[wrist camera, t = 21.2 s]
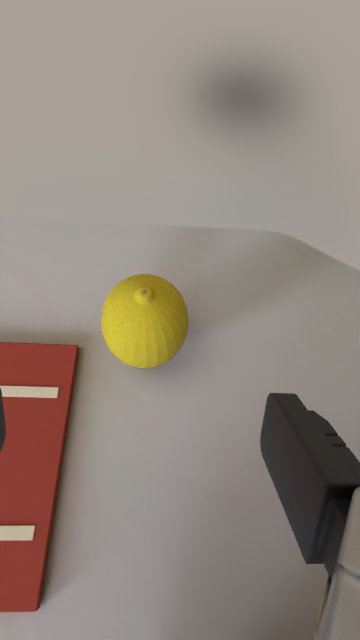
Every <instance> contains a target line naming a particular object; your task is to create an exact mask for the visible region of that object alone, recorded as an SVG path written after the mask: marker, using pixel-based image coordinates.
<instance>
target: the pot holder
mask: <svg viewBox="0 0 360 640" xmlns="http://www.w3.org/2000/svg"><path fill="white" fill-rule="evenodd" d="M78 351H79V347H78V345H58V344H33V343H7V342H0V388H1V391H2V399H3V407H4V416H5V424H6V437H5V442H4V445H3V448H2V450H1V452H0V612H34V611H37V610H38V609H39V607H40V601H41V594H42V588H43V581H44V575H45V568H46V561H47V555H48V548H49V542H50V535H51V529H52V522H53V516H54V509H55V502H56V496H57V489H58V483H59V476H60V470H61V463H62V456H63V450H64V443H65V437H66V430H67V424H68V417H69V410H70V404H71V397H72V391H73V384H74V378H75V371H76V364H77V358H78Z"/></svg>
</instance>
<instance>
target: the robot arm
mask: <svg viewBox="0 0 360 640" xmlns="http://www.w3.org/2000/svg"><path fill="white" fill-rule="evenodd" d="M5 437H6V424H5V416H4V407H3V399H2V391H1V388H0V452H1V450H2V448H3V445H4V442H5ZM260 444H261V452H262V456H263V459H264V461H265V463H266V466H267V468H268V471H269V473H270V476H271V478H272V481H273V483H274V486H275V488H276V491H277V493H278V496H279V498H280V500H281V503H282V505H283V508H284V510H285V513H286V515H287V518H288V520H289V523H290V525H291V528H292V530H293V533H294V535H295V538H296V540H297V542H298V545H299V547H300V550H301V552H302V555H303V557H304V560H305V562H306V564H324V565H325V567H326V569H327V572H328V574H329V575H328V578H327V581H326V585H325V589H324V593H323V597H322V602H321V606H320V610H319V614H318V618H317V622H316V626H315V630H314V635H313V639H312V640H360V462H359V461H358V460H357V458H356V457H355V456H354V454H353V453H352V452H351V451H350V449H349V448H348V447H346V444H345V443H344V441H343V440H342V439H341V438H340V436H338V434H337V432H336V431H335V430H334V429H333V427H332V426H331V425H330V423H329V422H328V421H327V420H325V419H324V418H323V417H321V416H320V415H318V414H317V413H316V412H314V411H308V410H307V409H306V407H305V406H304V405H303V403H302V402H301V400H300V399H299V398H298V396H297V395H296V394H288V393H270V394H269V395H268V398H267V402H266V408H265V413H264V419H263V425H262V431H261V438H260Z"/></svg>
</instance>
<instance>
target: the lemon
mask: <svg viewBox="0 0 360 640" xmlns="http://www.w3.org/2000/svg"><path fill="white" fill-rule="evenodd" d="M101 326H102V332H103V337H104V339H105V341H106V344H107V346H108V348H109V349H110V350H111V352H112V353H113V354H114V355H115V356H116V357H117V358H118V359H120V360H121V361H123V362H124V363H126V364H128V365H131V366H133V367H137V368H151V367H157V366H159V365H161V364H164V363H166V362H167V361H169V360H170V359H171V358H173V357H174V356H175V355H176V353H177V352H178V351H179V349H180V348H181V347H182V345H183V342H184V340H185V338H186V335H187V328H188V315H187V309H186V305H185V303H184V301H183V298H182V296H181V294H180V293H179V292H178V290H177V289H176V288H175V287H174V286H173V285H172V284H171V283H169V282H168V281H167V280H165V279H163V278H160V277H158V276H154V275H150V274H140V275H135V276H131V277H129V278H127V279H125V280H122V281H121V282H120V283H119V284H117V285H116V286H115V287H114V288H113V290H112V291H111V292H110V293H109V295H108V297H107V299H106V301H105V304H104V306H103V310H102V318H101Z"/></svg>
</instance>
